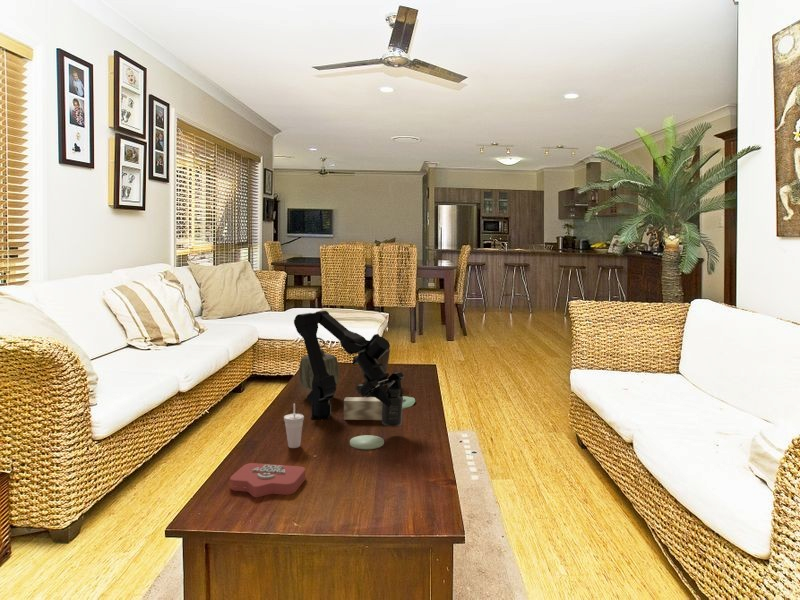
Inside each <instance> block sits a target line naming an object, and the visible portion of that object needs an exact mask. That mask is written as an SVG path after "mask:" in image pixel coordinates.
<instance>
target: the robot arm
mask: <svg viewBox="0 0 800 600" xmlns="http://www.w3.org/2000/svg"><path fill="white" fill-rule="evenodd" d="M293 324H294V327H295V330H296V332H297V334H298V335H299V336H301V337H302V339H303V343H304V345H305V349H306V352H307V355H308V357H309V360H310V364H311V368H312V371H313V375H314V376H313V381H312V389H313V390H312V391H311V390H310V392H309V393H308V394H307V395H306V398H307V402H308V403H311V416H310V419H323V420H325V419H329V418H330V416H331V415H332V403H331V401H330V400H334V397H335V394H336V392H337V386H336V385H338V383H337V384H336V382H335V378H334V376H333V375H329V374H328V373H327V371H326V368H325V364H324V360H323V357H322V353H321V350H320V349H321V348H320V346H321V345H320V342H319V339H317V338H318V336H317V334H318V329H319V324H320V325H321V326H322V327H323V328H324V329H326V330H327V331H328V332H329V333H330V334H331V335H332V336H334V337H335V338H336V339H338V341H339V342H340V345H341V347H342V348H343V350H344V351H345V352H346V353H347V355H355V356H353V358H352V359H353V360H352V363H351V364H352V366H354V365H359V366H360V367H359V368H360V369H361V368H362V370H363V371H364V373H365V374H364V375H363V374H362V377H363V376H364V377H363V379H364V378H365V380H364V382H363V383H362V384H357V385H356V387H355V389H356V391H357V393H358V394H359V396H361V397H376V398H377V399H379V400H380V401H381V402H383V403H384V404H385V405H386V406H388V407H390V406H391V403H390V400H389V398H388V396H387V394H386V388H389V387H395V388H400V395H399V396H400V397H402V399H403V396H404V395H403V391H402V390H403V389H402V380H403V379H404V378H405V375H404V374H403V372H402V371H396V372H393V373H392V374H389V372H386V373H385V372H384V371H383V369H382V368H381V367H382V366H383V365H382V363H381V364H378V362H377V361H376V359H379V358H380V357H381V356H382V355H383V354H384V353H385V352H386V351H387V350H388V349H390V348H391V345H390V342H389V340H387V339H386V338H384V337H382V336H381V335H380V334H379V333H376V334H373V335H372V337H371V339H370V340H368V339H366V338H365V337H364V336H363V335H361V334H359V333H357V332H354V331H351V330H349V329H348V328H347V327H346V326H344V325H343V324H342V323H341V322H339V321H338V320H337V319H336V318H334V317H333V316H332V315H331V314H330V312H328V311H327V310H319V311H316V312H307V313H306V312H305V313H301V314H300V313H299V314H296V316H295V318H294V319H293ZM319 345H320V346H319ZM365 349H366V350H365ZM363 351H364V352H363ZM359 352H361V353H360V354H359V355H358V353H359ZM356 354H357V355H356ZM384 386H386V388H385V387H384ZM333 396H334V397H333Z"/></svg>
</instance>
